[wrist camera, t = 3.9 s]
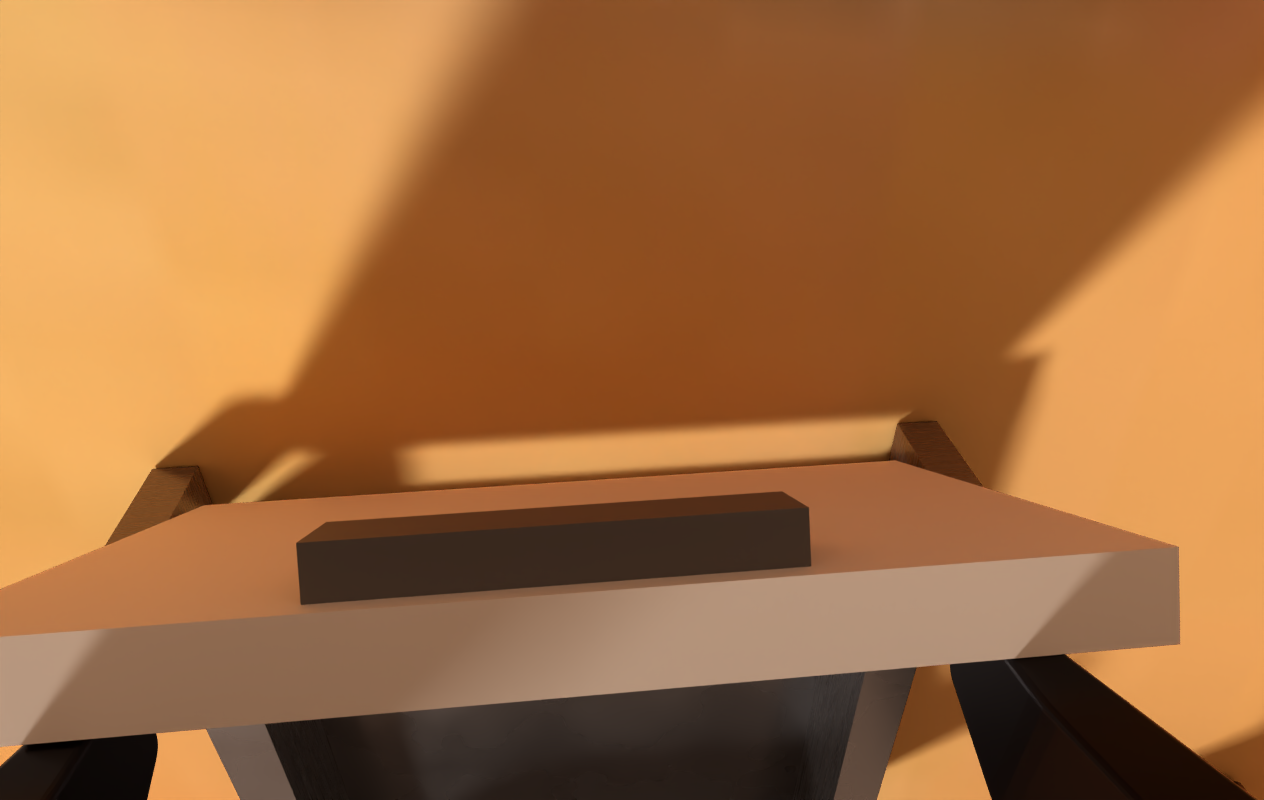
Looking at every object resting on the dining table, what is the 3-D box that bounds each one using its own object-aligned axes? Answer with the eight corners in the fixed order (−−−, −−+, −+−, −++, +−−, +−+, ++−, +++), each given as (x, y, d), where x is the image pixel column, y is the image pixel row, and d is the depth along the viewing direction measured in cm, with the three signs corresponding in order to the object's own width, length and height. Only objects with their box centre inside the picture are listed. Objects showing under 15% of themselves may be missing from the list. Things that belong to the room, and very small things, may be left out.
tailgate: (897, 513, 15) (1180, 644, 8) (209, 561, 14) (-131, 758, 7) (894, 427, 15) (1178, 488, 8) (201, 470, 14) (-150, 581, 7)
